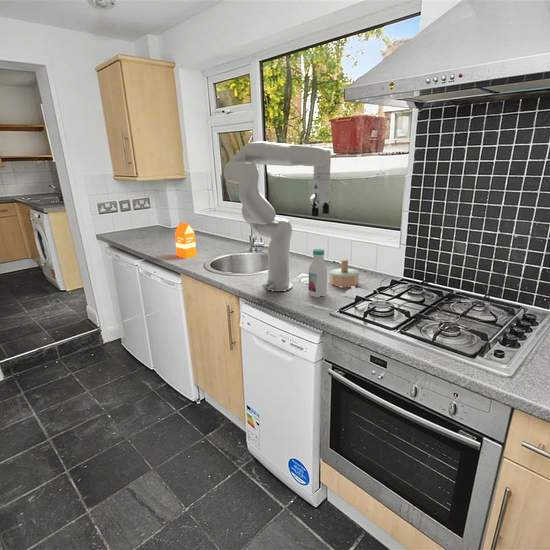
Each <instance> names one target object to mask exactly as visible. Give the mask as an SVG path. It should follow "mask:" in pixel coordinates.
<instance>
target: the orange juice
mask: <svg viewBox="0 0 550 550" xmlns="http://www.w3.org/2000/svg"><path fill="white" fill-rule="evenodd" d="M174 235H175V236H174V238H175V248H176V250H175V251H176V257H177V256H179V258H181V257H183V258H182V259H185V258H188V259H190V258H189V257H191V258H194V257H193V256H195V257H197V248H196V247H197V246H196V235H195V231H194V229H193V228H192V227H191V225H190V223H186V222H178V225H177V227H176V229H175V232H174Z"/></svg>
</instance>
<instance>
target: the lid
mask: <svg viewBox="0 0 550 550" xmlns="http://www.w3.org/2000/svg"><path fill="white" fill-rule="evenodd" d="M340 261H341V263H340V264H341V265H340V266H341V268H335V269H332V270H330V272H329V275H330V274H331V275H332V276H335V277H341V278H349V277H355V276H358V275H360V271H359V270H358V269H354V268H349V260H348V259H341V260H340Z"/></svg>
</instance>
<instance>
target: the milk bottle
mask: <svg viewBox="0 0 550 550" xmlns="http://www.w3.org/2000/svg"><path fill="white" fill-rule="evenodd" d="M312 256H313V257H312V260H311V263H310V264H309V266H308V289H307V291H308V293H307V294H308V296H309V295H311V296H310V297H312V296H314V297H313V298H321V297H320V296H324V295H326V296H327V290H328V289H327V288H328V287H327V285H328V267H327V264H326V262H325V258H324V256H325V249H322V248H315V249H314V248H313V250H312ZM324 297H325V296H324Z"/></svg>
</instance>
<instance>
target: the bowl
mask: <svg viewBox="0 0 550 550" xmlns="http://www.w3.org/2000/svg"><path fill="white" fill-rule="evenodd" d="M359 275H360V274H359ZM359 275H358V276H355V277H349V278H341V277H335V276H332V275H331V274H330V273H329V282H330V284H331V283H332V284H333V285H337V286H342V287H351V286H355V285H358V283H359ZM332 284H331V285H332ZM333 285H332V286H333ZM355 287H356V286H355Z"/></svg>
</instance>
